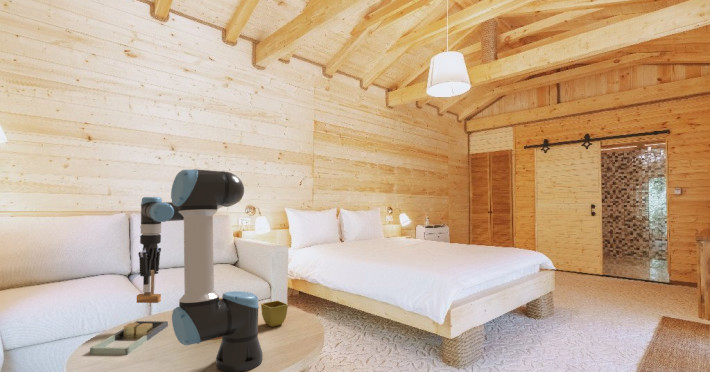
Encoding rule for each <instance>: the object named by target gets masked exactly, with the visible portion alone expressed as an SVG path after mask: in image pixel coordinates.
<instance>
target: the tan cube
mask: <svg viewBox="0 0 710 372" xmlns="http://www.w3.org/2000/svg"><path fill="white" fill-rule="evenodd" d="M139 325H140V323H135V322H130V323H128V324H126V325H124V326H123V329H124V332H123V337H135V336H136V330H137V326H139Z"/></svg>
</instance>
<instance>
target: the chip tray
mask: <svg viewBox="0 0 710 372" xmlns="http://www.w3.org/2000/svg"><path fill="white" fill-rule="evenodd" d="M114 342H116V341H115V335H114V334H112V335H110V336H109V337H107V338H104V339H103V340H102V341H100V342H99V343H96V344H94V346H91V347H90V348H89V355H129V354H131V353H132V352H133V351H135V350H136V349H138V348H139V347H141V346H142V345H143V344H145V343H146V342H148V341H147V336H143V337H141V338H140V339H138V340H137V341H133V342H132V343H131V344H129V345H128V346H125V347H124V346H117V347H116V346H115V347H114V346H112V347H111V346H109V345H110V344H112V343H114Z"/></svg>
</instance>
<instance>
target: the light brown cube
mask: <svg viewBox="0 0 710 372" xmlns="http://www.w3.org/2000/svg"><path fill="white" fill-rule="evenodd" d="M151 330H152V323H142V324H140V325H139V326H137V330H136V337H143V336H144V335H145V334H147V333H148V332H150V331H151Z"/></svg>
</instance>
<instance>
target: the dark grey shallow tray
mask: <svg viewBox="0 0 710 372" xmlns="http://www.w3.org/2000/svg"><path fill="white" fill-rule="evenodd" d="M134 323H140V324H142V323H152V330H151V331H150V332H148V333H147V334H145V335H144V336H147V341H146V342H148V341H149V340H150V339H152V338H153V337H155V336H156V335H158V334H159V333H160V332H162V331H164V330H165V329H166V328H168V326H169V321H165V320H161V321H160V320H157V321H156V320H155V321H153V320H152V321H151V320H145V321H144V320H137V321H134ZM123 332H124V328H122V329H121V330H119V331H117V332H115V333H114V334H113V335H115V341H114V342H135V341H137V340H138V339H140V338H141V337H136V336H135V337H123Z"/></svg>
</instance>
